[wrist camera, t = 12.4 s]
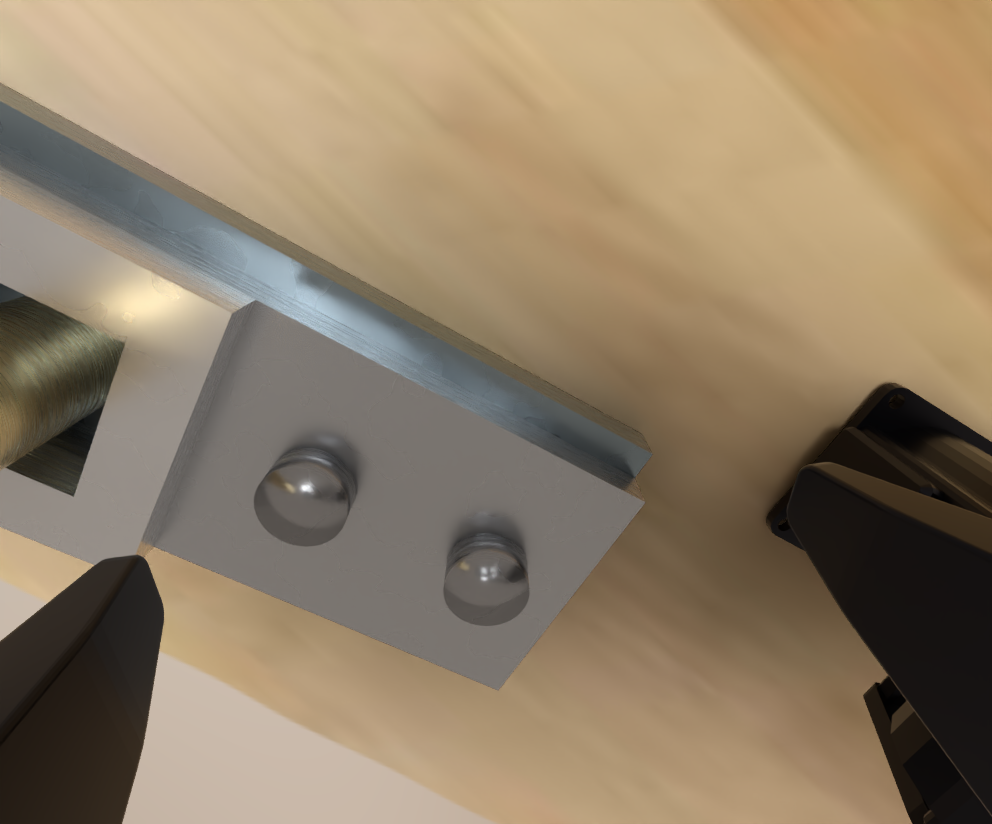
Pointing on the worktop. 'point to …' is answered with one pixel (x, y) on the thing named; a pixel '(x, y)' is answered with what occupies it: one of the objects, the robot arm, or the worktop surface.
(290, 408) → the tiered gray console
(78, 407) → the pin
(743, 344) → the worktop surface
